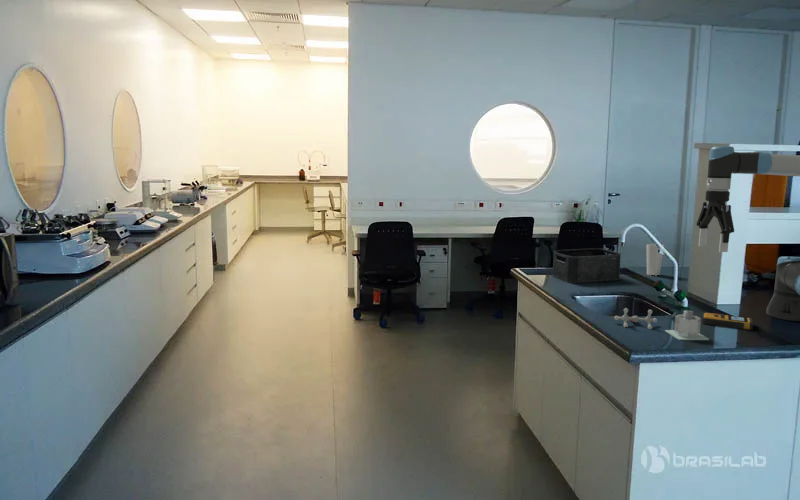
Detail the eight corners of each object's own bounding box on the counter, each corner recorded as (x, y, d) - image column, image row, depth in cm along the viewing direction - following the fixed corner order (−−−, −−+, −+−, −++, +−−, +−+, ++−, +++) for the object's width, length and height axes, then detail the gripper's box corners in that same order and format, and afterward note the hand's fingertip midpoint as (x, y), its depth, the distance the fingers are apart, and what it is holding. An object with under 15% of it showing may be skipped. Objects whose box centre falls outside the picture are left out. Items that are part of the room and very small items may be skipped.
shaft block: (693, 331, 202) (695, 307, 200) (709, 340, 192) (711, 315, 191) (664, 331, 202) (666, 307, 200) (679, 340, 192) (681, 315, 190)
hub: (691, 331, 200) (693, 314, 199) (702, 337, 193) (704, 320, 192) (670, 331, 200) (672, 314, 199) (681, 337, 193) (682, 320, 192)
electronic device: (702, 320, 218) (703, 311, 217) (751, 325, 211) (752, 316, 210) (702, 325, 211) (702, 316, 210) (752, 331, 203) (753, 322, 203)
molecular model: (612, 330, 215) (617, 329, 205) (611, 310, 216) (616, 308, 207) (654, 330, 212) (661, 329, 203) (652, 309, 214) (659, 307, 204)
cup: (645, 276, 295) (648, 245, 293) (642, 272, 303) (645, 243, 301) (663, 276, 293) (666, 246, 291) (660, 273, 301) (662, 244, 299)
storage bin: (570, 284, 276) (571, 256, 274) (549, 275, 295) (550, 249, 293) (622, 281, 284) (624, 254, 282) (599, 273, 302) (600, 247, 300)
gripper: (689, 188, 220) (684, 243, 224) (727, 192, 196) (721, 254, 199) (709, 188, 221) (704, 243, 224) (749, 192, 196) (743, 254, 199)
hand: (712, 248), depth 212 cm, fingers open, 13 cm apart
